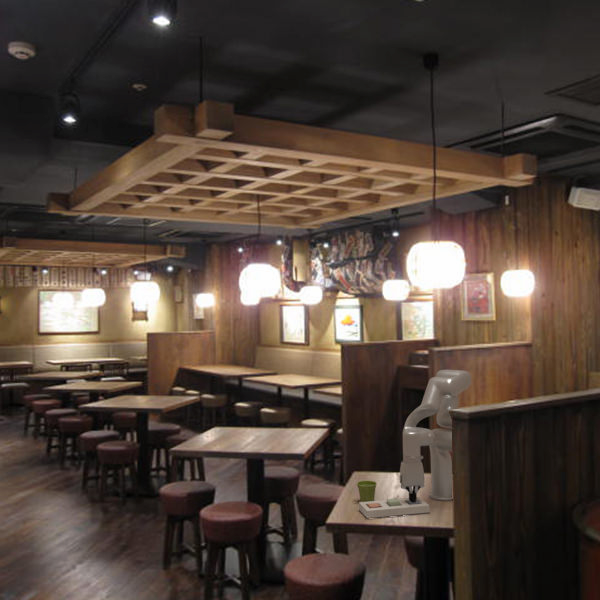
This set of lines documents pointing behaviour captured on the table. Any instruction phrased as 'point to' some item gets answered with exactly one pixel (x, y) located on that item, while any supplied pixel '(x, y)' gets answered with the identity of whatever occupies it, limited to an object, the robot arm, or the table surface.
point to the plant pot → (366, 490)
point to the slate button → (412, 502)
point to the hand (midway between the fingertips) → (412, 501)
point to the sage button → (393, 502)
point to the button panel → (393, 509)
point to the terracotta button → (373, 505)
